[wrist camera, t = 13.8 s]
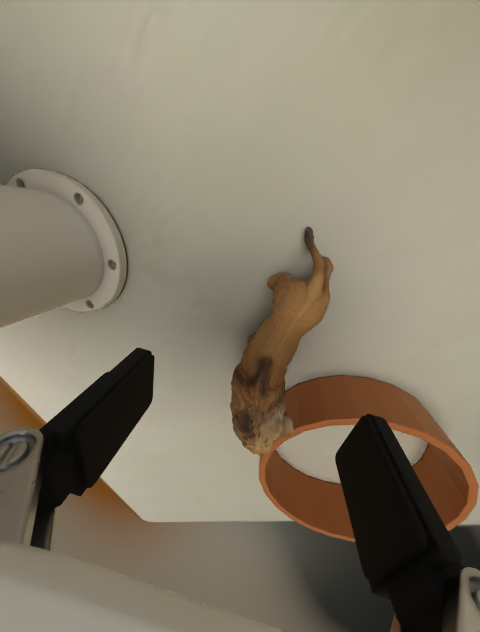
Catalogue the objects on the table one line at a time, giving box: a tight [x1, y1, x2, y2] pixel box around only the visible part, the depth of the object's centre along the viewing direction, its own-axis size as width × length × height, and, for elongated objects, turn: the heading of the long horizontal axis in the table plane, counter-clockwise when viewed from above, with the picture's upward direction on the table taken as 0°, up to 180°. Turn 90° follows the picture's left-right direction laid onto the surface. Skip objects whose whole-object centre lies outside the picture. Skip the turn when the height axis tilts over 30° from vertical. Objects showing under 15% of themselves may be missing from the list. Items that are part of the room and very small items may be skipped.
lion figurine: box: [230, 227, 333, 455], centre depth 15 cm, size 15×5×9 cm, turn 170°
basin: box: [259, 376, 478, 542], centre depth 21 cm, size 17×17×5 cm
